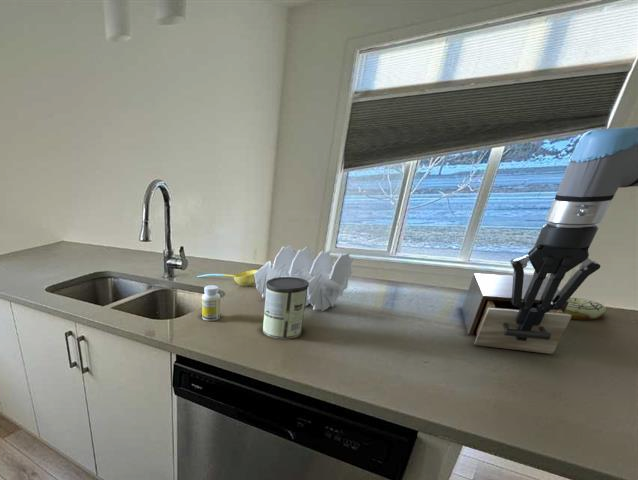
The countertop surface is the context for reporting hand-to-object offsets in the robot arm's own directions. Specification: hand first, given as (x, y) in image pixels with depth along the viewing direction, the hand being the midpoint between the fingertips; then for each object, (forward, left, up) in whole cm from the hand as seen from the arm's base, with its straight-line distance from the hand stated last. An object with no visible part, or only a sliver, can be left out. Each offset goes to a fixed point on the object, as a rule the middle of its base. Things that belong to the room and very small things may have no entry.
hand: (520, 338), depth 88 cm
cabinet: (0, -18, -4) cm, 18 cm away
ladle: (+79, -37, -5) cm, 88 cm away
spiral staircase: (+49, -20, -5) cm, 53 cm away
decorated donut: (-16, -32, -5) cm, 36 cm away
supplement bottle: (+71, 0, -5) cm, 71 cm away
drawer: (0, -8, -3) cm, 9 cm away
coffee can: (+49, +4, -5) cm, 49 cm away
